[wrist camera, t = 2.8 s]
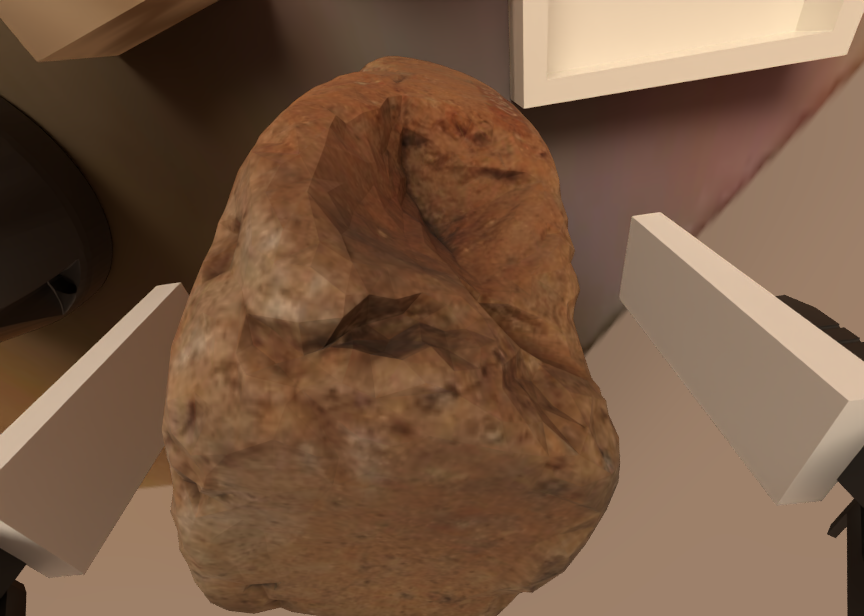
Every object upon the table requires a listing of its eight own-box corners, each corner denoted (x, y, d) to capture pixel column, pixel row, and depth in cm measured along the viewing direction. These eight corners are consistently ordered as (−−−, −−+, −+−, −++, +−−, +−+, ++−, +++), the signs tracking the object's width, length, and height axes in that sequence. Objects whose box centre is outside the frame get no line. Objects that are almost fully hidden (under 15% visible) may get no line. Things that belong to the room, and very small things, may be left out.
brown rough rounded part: (438, 264, 26) (482, 672, 9) (323, 234, 24) (134, 660, 8) (504, 83, 20) (939, 329, 3) (357, 29, 18) (-126, 4, 2)
